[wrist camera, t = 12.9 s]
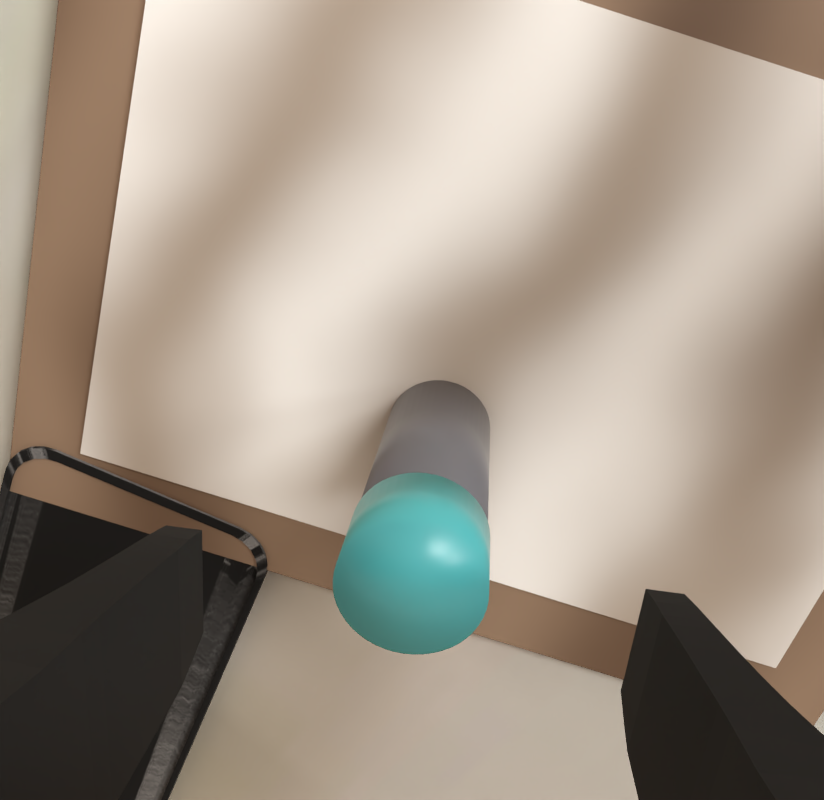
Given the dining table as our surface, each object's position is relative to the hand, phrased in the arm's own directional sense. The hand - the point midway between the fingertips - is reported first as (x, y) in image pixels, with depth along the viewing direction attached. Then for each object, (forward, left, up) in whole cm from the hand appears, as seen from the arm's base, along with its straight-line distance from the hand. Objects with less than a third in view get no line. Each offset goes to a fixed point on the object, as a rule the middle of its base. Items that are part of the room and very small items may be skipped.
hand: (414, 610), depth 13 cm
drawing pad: (-1, -3, -9) cm, 9 cm away
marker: (0, 0, -8) cm, 8 cm away
